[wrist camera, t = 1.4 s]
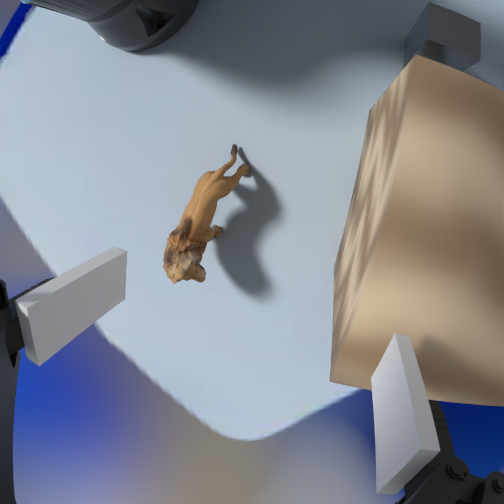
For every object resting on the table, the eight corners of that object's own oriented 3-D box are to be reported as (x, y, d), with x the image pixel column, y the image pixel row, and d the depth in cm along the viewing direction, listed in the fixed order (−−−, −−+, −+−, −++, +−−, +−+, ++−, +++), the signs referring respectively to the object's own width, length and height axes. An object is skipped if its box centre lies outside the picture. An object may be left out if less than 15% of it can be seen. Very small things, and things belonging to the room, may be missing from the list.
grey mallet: (406, 38, 26) (428, 2, 17) (446, 52, 25) (480, 23, 16) (373, 223, 33) (388, 249, 24) (413, 235, 32) (441, 263, 23)
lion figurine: (222, 268, 39) (193, 299, 31) (184, 253, 40) (147, 278, 32) (257, 150, 34) (233, 149, 26) (214, 138, 35) (178, 134, 26)
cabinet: (369, 110, 30) (415, 54, 11) (488, 151, 27) (607, 161, 9) (334, 267, 36) (329, 381, 17) (447, 296, 33) (514, 406, 15)
